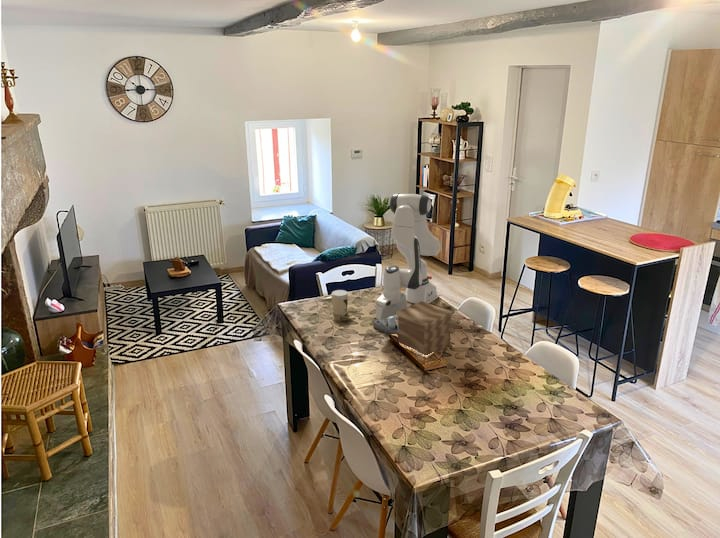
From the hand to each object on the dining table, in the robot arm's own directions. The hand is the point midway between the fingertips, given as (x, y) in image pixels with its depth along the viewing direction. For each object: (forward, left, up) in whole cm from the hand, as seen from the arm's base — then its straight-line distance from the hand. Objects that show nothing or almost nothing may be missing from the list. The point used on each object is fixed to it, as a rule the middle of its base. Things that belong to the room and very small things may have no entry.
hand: (391, 322), depth 284 cm
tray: (0, 0, -5) cm, 5 cm away
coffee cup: (+3, -37, -6) cm, 38 cm away
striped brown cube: (0, +22, -5) cm, 23 cm away
